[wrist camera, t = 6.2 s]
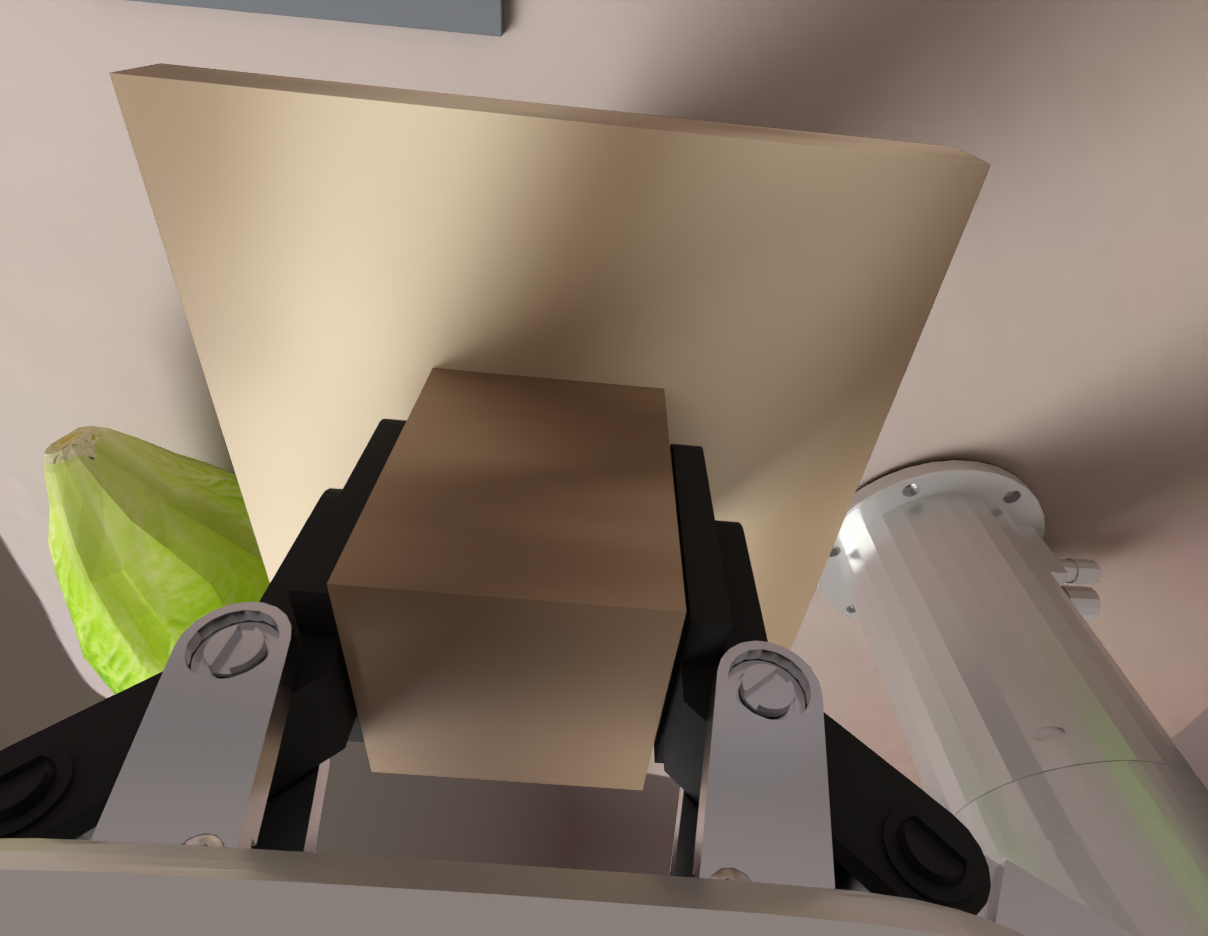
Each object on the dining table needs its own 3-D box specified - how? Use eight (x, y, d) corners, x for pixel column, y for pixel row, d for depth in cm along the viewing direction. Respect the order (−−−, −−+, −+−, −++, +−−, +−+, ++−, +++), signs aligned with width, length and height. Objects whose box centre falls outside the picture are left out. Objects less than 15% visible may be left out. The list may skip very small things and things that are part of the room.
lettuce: (280, 327, 30) (131, 498, 20) (464, 604, 42) (424, 792, 32) (38, 402, 32) (-193, 585, 23) (277, 643, 44) (189, 828, 35)
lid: (955, 146, 10) (1279, 311, 5) (768, 643, 17) (826, 911, 12) (160, 63, 10) (-333, 152, 5) (308, 607, 17) (176, 870, 12)
